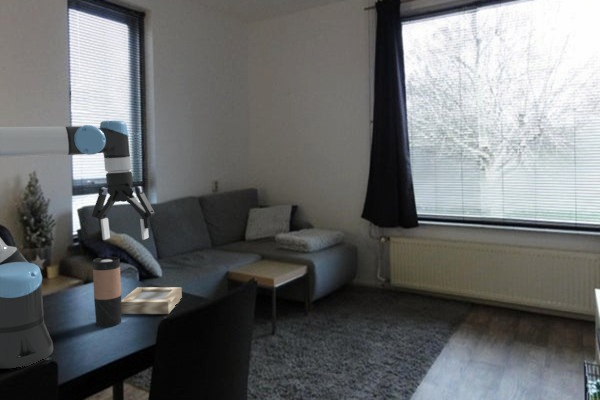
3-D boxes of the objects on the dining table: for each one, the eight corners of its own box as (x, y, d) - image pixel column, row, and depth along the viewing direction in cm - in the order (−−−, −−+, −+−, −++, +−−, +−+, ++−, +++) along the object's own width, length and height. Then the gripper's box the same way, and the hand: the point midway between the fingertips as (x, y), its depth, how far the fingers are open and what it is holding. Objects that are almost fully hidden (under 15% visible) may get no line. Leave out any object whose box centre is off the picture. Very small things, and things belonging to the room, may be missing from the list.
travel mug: (112, 328, 132) (109, 263, 130) (89, 326, 133) (86, 261, 131) (127, 319, 139) (125, 257, 137) (105, 317, 141) (103, 256, 139)
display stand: (119, 313, 144) (119, 301, 144) (137, 297, 160) (137, 287, 160) (168, 313, 144) (168, 302, 144) (181, 298, 160) (181, 287, 160)
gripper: (161, 169, 138) (168, 235, 140) (90, 171, 142) (98, 236, 145) (149, 171, 130) (156, 241, 133) (74, 174, 135) (82, 241, 138)
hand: (125, 238), depth 139 cm, fingers open, 13 cm apart
